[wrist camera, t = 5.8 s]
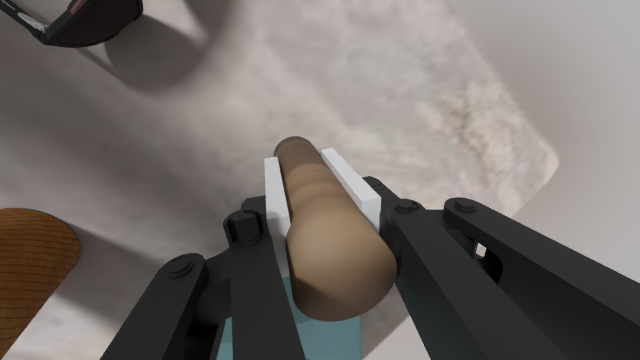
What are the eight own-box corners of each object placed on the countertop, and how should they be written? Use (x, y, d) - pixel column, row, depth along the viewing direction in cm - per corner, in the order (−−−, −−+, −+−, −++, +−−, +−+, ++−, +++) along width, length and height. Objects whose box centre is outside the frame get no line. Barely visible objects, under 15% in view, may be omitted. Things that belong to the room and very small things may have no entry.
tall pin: (270, 139, 17) (284, 252, 6) (314, 133, 17) (400, 227, 6) (277, 180, 18) (299, 332, 7) (317, 173, 19) (394, 306, 8)
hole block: (200, 289, 23) (179, 354, 17) (339, 258, 25) (360, 307, 19) (233, 372, 28) (226, 441, 23) (345, 341, 31) (362, 397, 25)
